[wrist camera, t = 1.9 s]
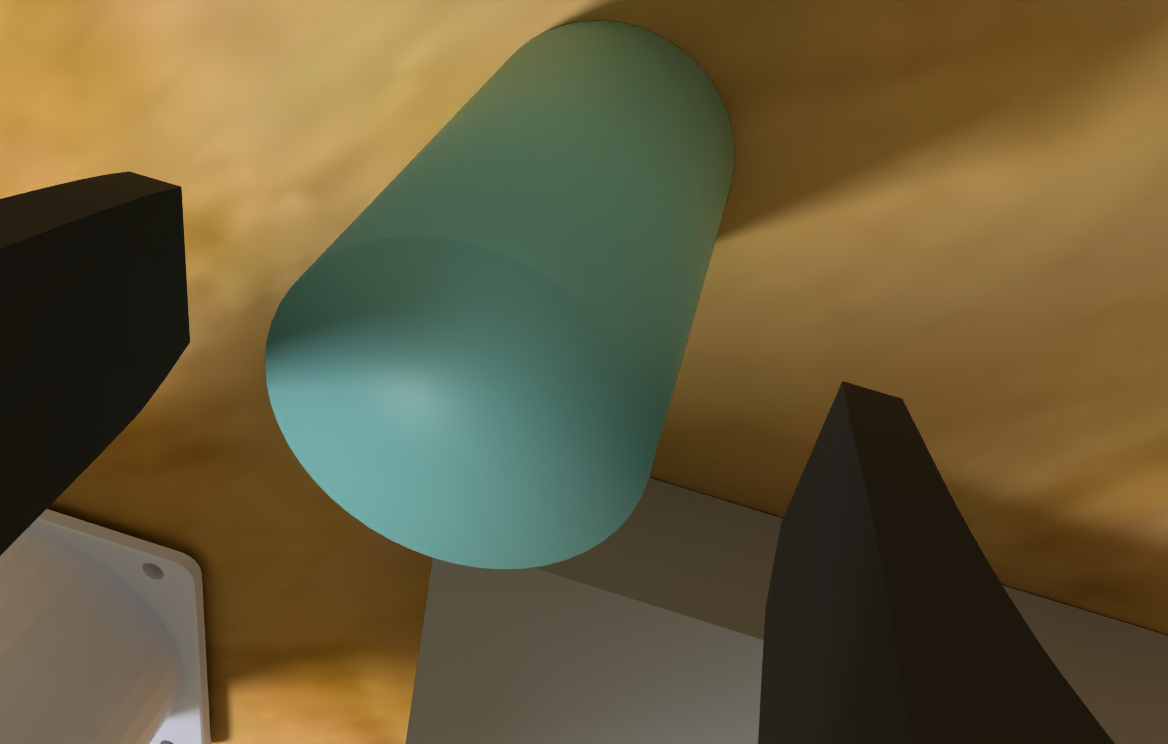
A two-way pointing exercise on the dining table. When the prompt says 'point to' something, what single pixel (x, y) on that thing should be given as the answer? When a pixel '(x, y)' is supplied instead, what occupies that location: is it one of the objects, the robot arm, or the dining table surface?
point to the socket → (684, 640)
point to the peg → (514, 306)
